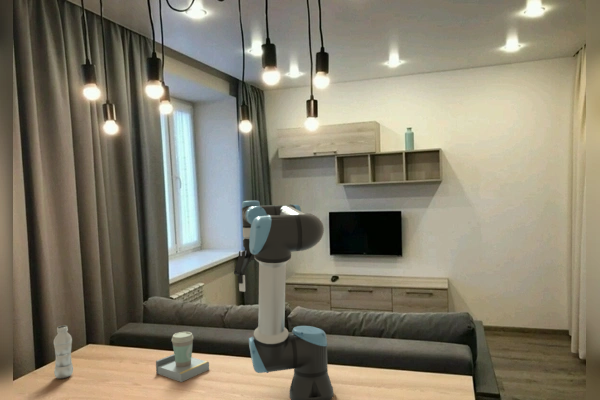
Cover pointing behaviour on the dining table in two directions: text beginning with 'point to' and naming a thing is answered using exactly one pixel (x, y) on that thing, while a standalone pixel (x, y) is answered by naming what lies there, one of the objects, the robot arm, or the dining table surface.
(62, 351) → the plastic bottle
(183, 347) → the coffee cup
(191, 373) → the plate
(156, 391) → the dining table surface
